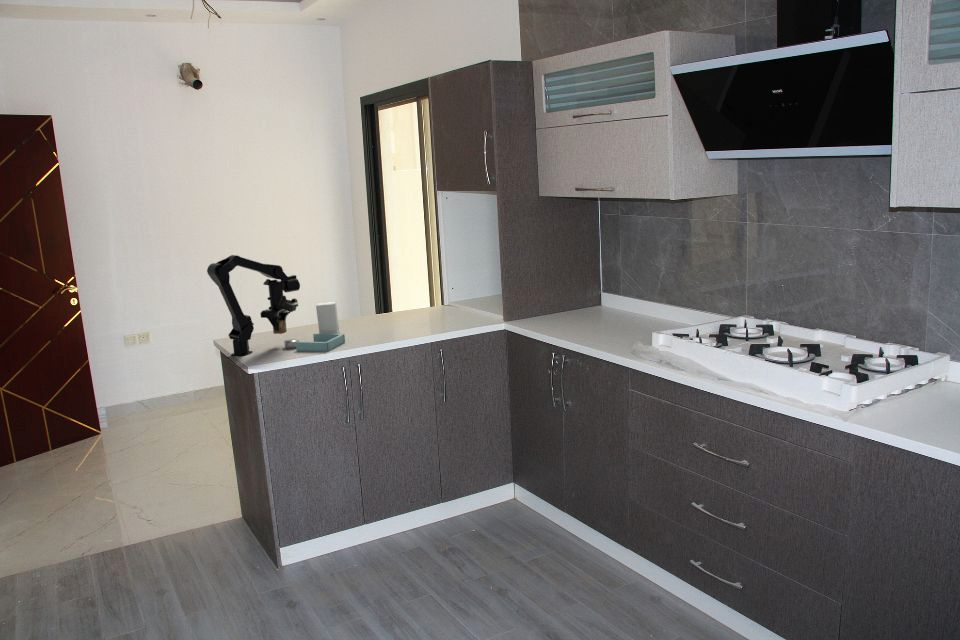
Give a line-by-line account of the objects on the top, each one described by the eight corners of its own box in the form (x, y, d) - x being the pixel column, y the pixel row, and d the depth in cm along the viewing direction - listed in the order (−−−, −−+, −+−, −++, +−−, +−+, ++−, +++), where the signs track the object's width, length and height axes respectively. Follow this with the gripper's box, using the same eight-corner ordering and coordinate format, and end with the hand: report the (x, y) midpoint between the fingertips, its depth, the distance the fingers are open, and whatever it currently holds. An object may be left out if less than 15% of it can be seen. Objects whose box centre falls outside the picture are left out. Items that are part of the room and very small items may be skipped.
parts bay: (327, 351, 326) (326, 342, 326) (296, 350, 330) (295, 342, 330) (345, 342, 342) (344, 334, 341) (315, 341, 346) (314, 333, 345)
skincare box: (340, 335, 356) (337, 301, 353) (338, 338, 349) (335, 303, 346) (321, 336, 355) (318, 302, 352) (318, 339, 349) (315, 304, 346)
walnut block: (282, 333, 338) (280, 322, 337) (273, 333, 339) (272, 322, 338) (286, 331, 342) (285, 320, 341) (278, 331, 343) (277, 320, 342)
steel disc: (295, 349, 333) (294, 342, 332) (282, 349, 335) (281, 342, 334) (301, 346, 339) (301, 339, 338) (289, 346, 340) (288, 339, 340)
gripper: (282, 298, 326) (285, 335, 329) (303, 290, 344) (307, 325, 347) (258, 298, 329) (261, 334, 332) (280, 290, 347) (284, 325, 350)
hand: (279, 330), depth 340 cm, fingers closed on walnut block, 4 cm apart
